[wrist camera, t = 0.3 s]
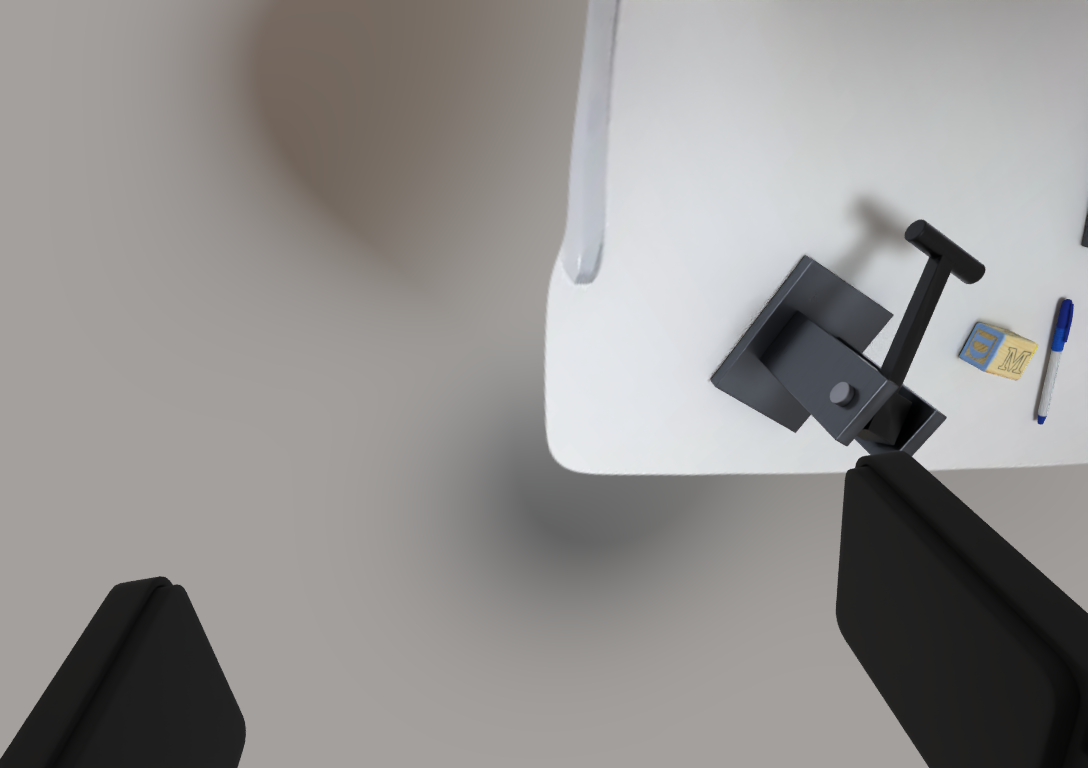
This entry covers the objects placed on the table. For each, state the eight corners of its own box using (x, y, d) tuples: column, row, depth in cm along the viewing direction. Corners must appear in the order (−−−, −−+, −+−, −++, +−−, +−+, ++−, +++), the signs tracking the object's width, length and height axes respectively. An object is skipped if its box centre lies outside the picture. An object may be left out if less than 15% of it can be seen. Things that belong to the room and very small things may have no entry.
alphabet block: (977, 319, 52) (1006, 334, 50) (1011, 330, 53) (1041, 345, 50) (956, 356, 54) (983, 372, 51) (990, 366, 54) (1018, 382, 51)
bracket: (805, 254, 49) (910, 317, 37) (885, 309, 51) (1006, 384, 40) (710, 380, 52) (779, 472, 41) (789, 425, 55) (875, 525, 43)
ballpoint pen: (1057, 299, 52) (1067, 303, 51) (1068, 297, 52) (1079, 301, 51) (1033, 421, 57) (1042, 427, 56) (1044, 419, 57) (1053, 425, 56)
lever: (903, 222, 43) (935, 215, 41) (962, 266, 45) (996, 262, 43) (818, 413, 42) (847, 417, 40) (882, 451, 44) (913, 457, 41)
